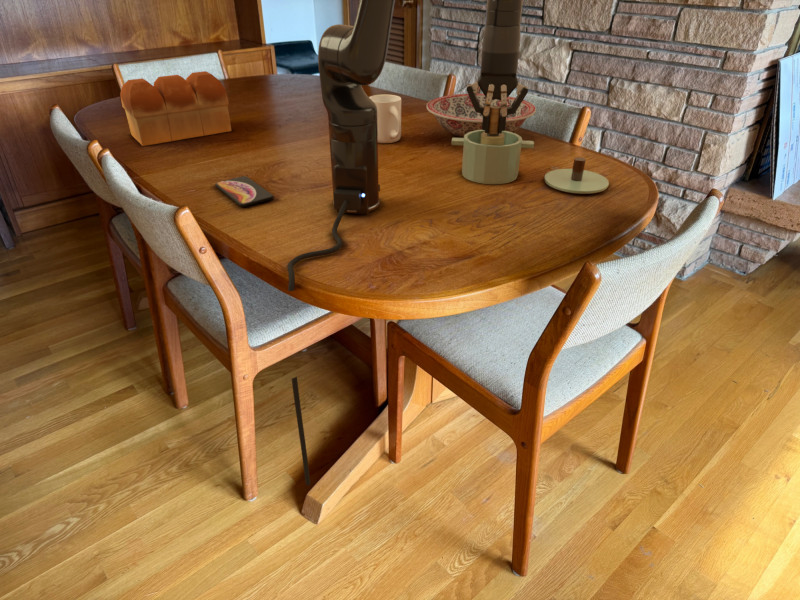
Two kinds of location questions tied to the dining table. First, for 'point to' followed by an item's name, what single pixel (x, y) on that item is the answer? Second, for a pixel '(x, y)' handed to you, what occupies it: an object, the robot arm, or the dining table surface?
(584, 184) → the lid
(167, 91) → the bread
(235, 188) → the smartphone
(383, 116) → the mug
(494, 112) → the rubber stamp
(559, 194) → the dining table surface
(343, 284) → the dining table surface
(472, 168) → the pot
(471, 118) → the ceramic bowl
